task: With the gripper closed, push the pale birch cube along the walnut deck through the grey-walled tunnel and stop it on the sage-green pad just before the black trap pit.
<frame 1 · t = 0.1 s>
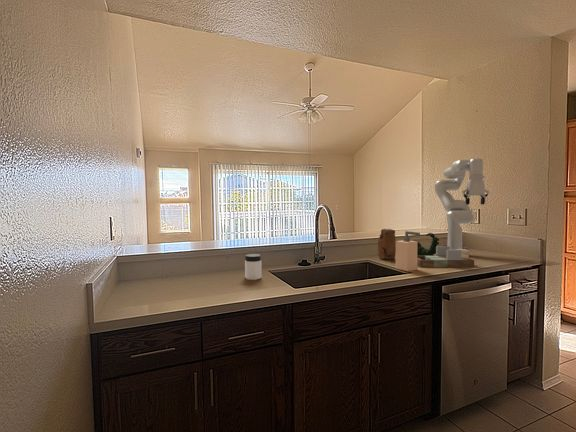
hand: (475, 204, 209), 37 cm above the worktop, tool pointing down, fingers open, 9 cm apart
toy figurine: (420, 257, 221), on the worktop
jar: (253, 278, 168), on the worktop
tunnel walls: (447, 264, 200), resting on walnut deck
birch cube: (462, 257, 199), point 4 cm above the worktop, touching walnut deck
walnut deck: (440, 264, 200), on the worktop
soap dispenser: (409, 270, 185), on the worktop
block: (386, 258, 218), on the worktop
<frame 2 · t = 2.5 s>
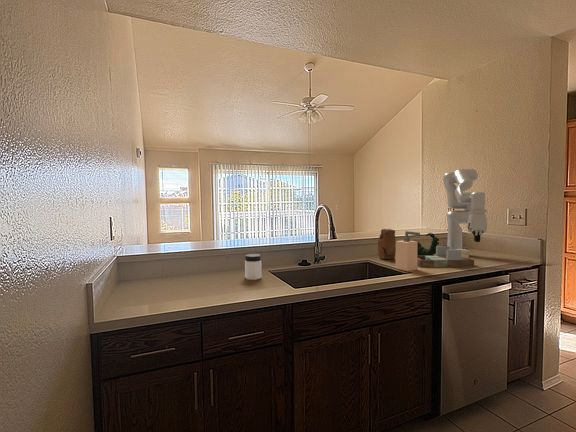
hand: (477, 241, 198), 14 cm above the worktop, tool pointing down, fingers closed
nothing on the worktop moved.
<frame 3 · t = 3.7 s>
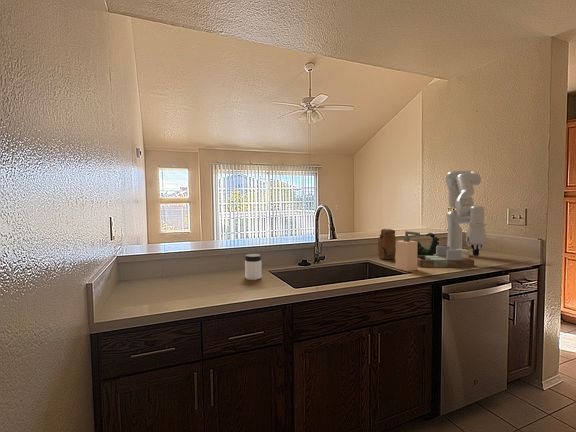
hand: (475, 255, 199), 5 cm above the worktop, tool pointing down, fingers closed
nothing on the worktop moved.
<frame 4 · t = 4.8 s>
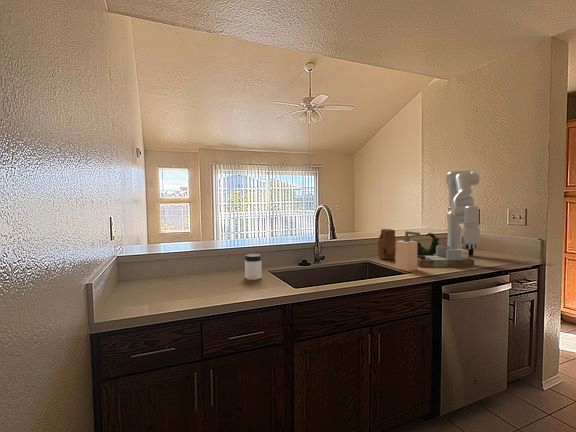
hand: (470, 255, 199), 5 cm above the worktop, tool pointing down, fingers closed
birch cube: (462, 257, 199), point 4 cm above the worktop, touching gripper, walnut deck
everything else where it was.
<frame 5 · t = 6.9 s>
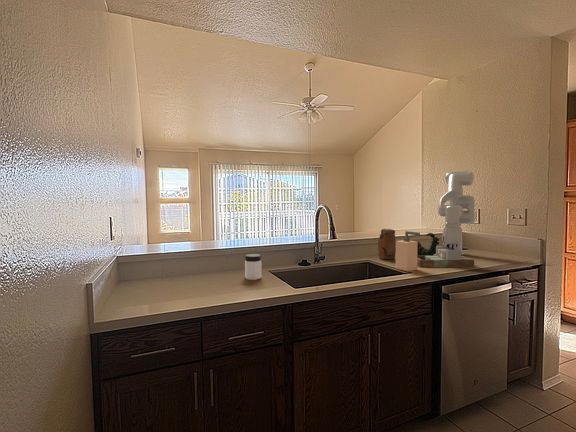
hand: (451, 255, 199), 6 cm above the worktop, tool pointing down, fingers closed
birch cube: (443, 257, 199), point 4 cm above the worktop, touching gripper
everything else where it was.
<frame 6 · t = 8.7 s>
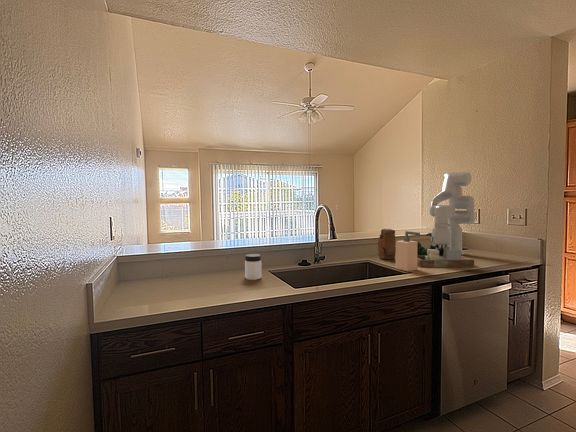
hand: (440, 255, 199), 6 cm above the worktop, tool pointing down, fingers closed
birch cube: (433, 257, 199), point 4 cm above the worktop, touching gripper, walnut deck
everything else where it was.
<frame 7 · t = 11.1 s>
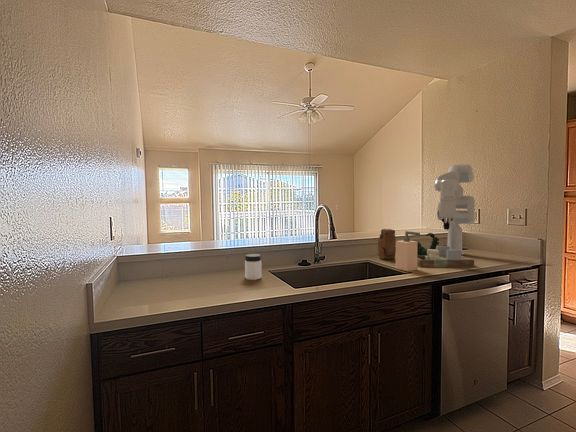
hand: (446, 229, 200), 22 cm above the worktop, tool pointing down, fingers closed
birch cube: (432, 257, 199), point 4 cm above the worktop, touching walnut deck
everything else where it was.
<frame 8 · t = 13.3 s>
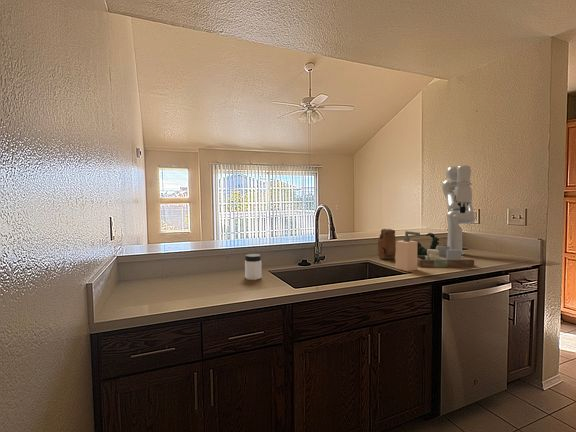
hand: (462, 213, 209), 31 cm above the worktop, tool pointing down, fingers closed
nothing on the worktop moved.
at the end: birch cube inside the target area (1.2 cm from its centre), point 4.0 cm above the worktop; birch cube tilted 0° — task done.
